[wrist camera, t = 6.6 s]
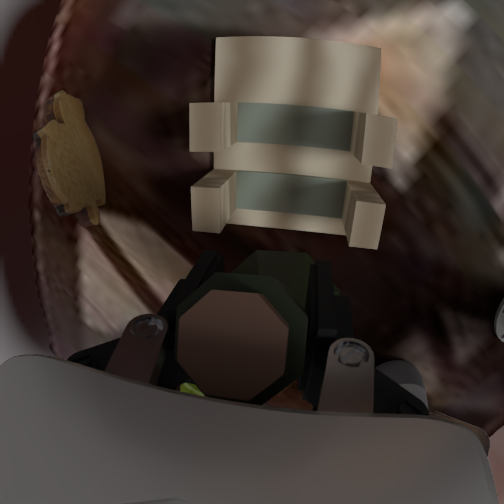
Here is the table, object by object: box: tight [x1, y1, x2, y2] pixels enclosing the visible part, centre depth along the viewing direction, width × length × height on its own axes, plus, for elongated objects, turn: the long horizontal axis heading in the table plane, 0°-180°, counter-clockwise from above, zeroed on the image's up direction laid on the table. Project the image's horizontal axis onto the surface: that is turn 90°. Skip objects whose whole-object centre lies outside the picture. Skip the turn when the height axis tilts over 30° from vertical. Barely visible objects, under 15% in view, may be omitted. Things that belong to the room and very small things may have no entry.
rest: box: [189, 36, 397, 249], centre depth 26 cm, size 16×20×8 cm
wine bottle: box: [174, 250, 340, 405], centre depth 21 cm, size 8×8×30 cm
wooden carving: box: [33, 90, 106, 227], centre depth 29 cm, size 16×5×10 cm, turn 18°
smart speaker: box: [375, 360, 429, 411], centre depth 35 cm, size 10×9×14 cm
